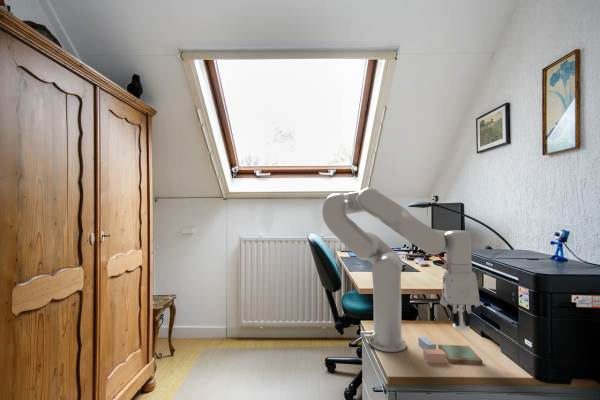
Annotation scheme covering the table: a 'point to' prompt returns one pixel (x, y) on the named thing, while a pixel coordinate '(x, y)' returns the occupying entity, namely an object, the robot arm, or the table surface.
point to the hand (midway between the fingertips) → (460, 323)
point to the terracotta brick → (434, 356)
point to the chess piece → (461, 320)
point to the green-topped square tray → (460, 354)
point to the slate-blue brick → (426, 343)
